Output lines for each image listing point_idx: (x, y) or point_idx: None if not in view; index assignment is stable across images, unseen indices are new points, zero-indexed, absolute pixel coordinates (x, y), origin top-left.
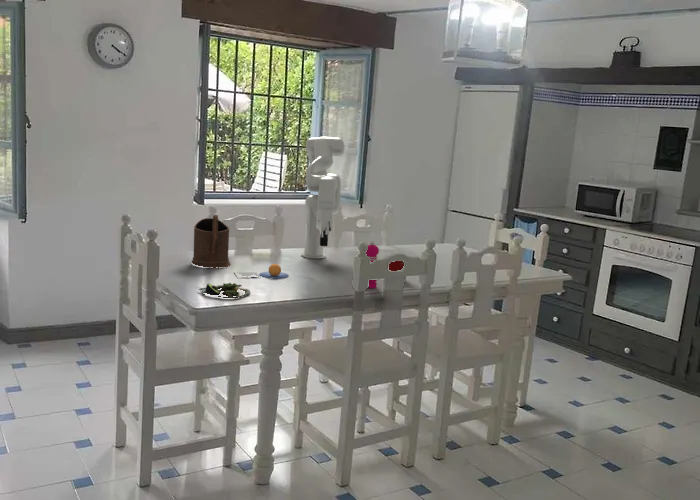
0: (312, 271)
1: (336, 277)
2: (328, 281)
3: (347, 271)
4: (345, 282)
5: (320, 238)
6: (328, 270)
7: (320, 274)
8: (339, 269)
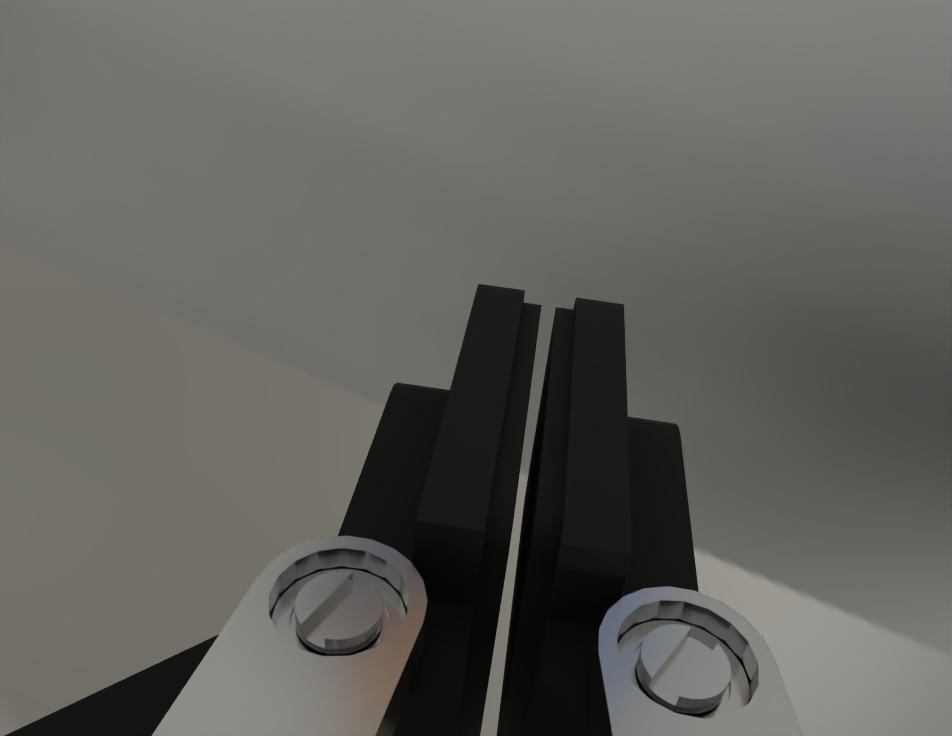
0: (893, 20)
1: (373, 260)
2: (104, 15)
3: (700, 545)
4: (71, 257)
5: (566, 486)
6: (853, 337)
7: (615, 82)
8: (851, 506)
